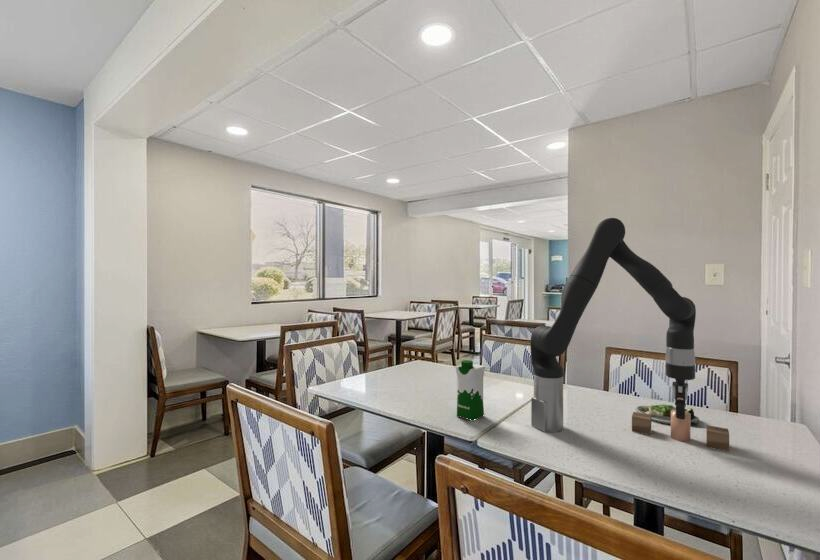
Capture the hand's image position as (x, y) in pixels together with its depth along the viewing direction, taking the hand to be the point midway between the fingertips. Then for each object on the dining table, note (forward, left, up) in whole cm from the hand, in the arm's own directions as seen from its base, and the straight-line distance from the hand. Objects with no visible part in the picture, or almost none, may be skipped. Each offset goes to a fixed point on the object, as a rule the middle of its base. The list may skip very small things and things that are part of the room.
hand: (680, 414), depth 120 cm
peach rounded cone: (-1, 0, -7) cm, 7 cm away
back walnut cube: (-6, +9, -7) cm, 13 cm away
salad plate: (+14, +13, -8) cm, 21 cm away
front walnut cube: (+3, -8, -7) cm, 12 cm away
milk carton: (-49, +43, -7) cm, 65 cm away
